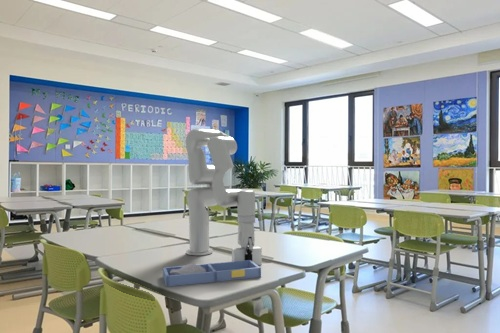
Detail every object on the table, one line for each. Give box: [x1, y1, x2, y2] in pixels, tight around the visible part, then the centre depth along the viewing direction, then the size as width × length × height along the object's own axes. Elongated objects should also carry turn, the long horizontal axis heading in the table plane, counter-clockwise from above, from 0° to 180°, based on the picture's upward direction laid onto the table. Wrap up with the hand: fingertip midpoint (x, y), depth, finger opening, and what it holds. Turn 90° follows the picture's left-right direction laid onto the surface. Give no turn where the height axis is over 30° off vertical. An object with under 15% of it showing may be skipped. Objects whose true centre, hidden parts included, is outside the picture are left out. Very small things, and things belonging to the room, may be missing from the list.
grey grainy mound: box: [169, 263, 206, 276], centre depth 144 cm, size 12×5×10 cm
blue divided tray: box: [162, 260, 262, 287], centre depth 146 cm, size 13×35×4 cm, turn 108°
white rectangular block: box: [231, 246, 263, 266], centre depth 164 cm, size 4×12×7 cm, turn 108°
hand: (246, 261), depth 164 cm, fingers closed on white rectangular block, 4 cm apart
